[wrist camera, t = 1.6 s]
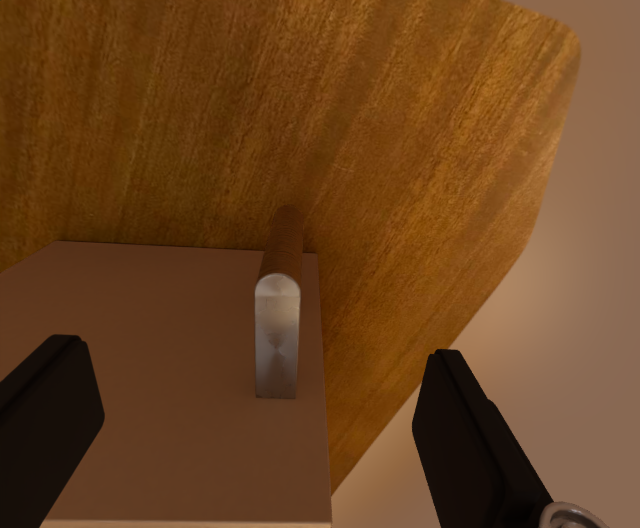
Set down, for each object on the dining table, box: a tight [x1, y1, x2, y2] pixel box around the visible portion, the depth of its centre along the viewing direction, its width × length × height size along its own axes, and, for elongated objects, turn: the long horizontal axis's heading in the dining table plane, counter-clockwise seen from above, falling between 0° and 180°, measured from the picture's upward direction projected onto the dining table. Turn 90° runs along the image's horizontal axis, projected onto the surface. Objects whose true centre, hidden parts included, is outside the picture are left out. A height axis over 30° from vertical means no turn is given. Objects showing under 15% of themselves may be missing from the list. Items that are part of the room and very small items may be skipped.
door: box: [0, 205, 332, 528], centre depth 22 cm, size 8×24×24 cm, turn 86°
